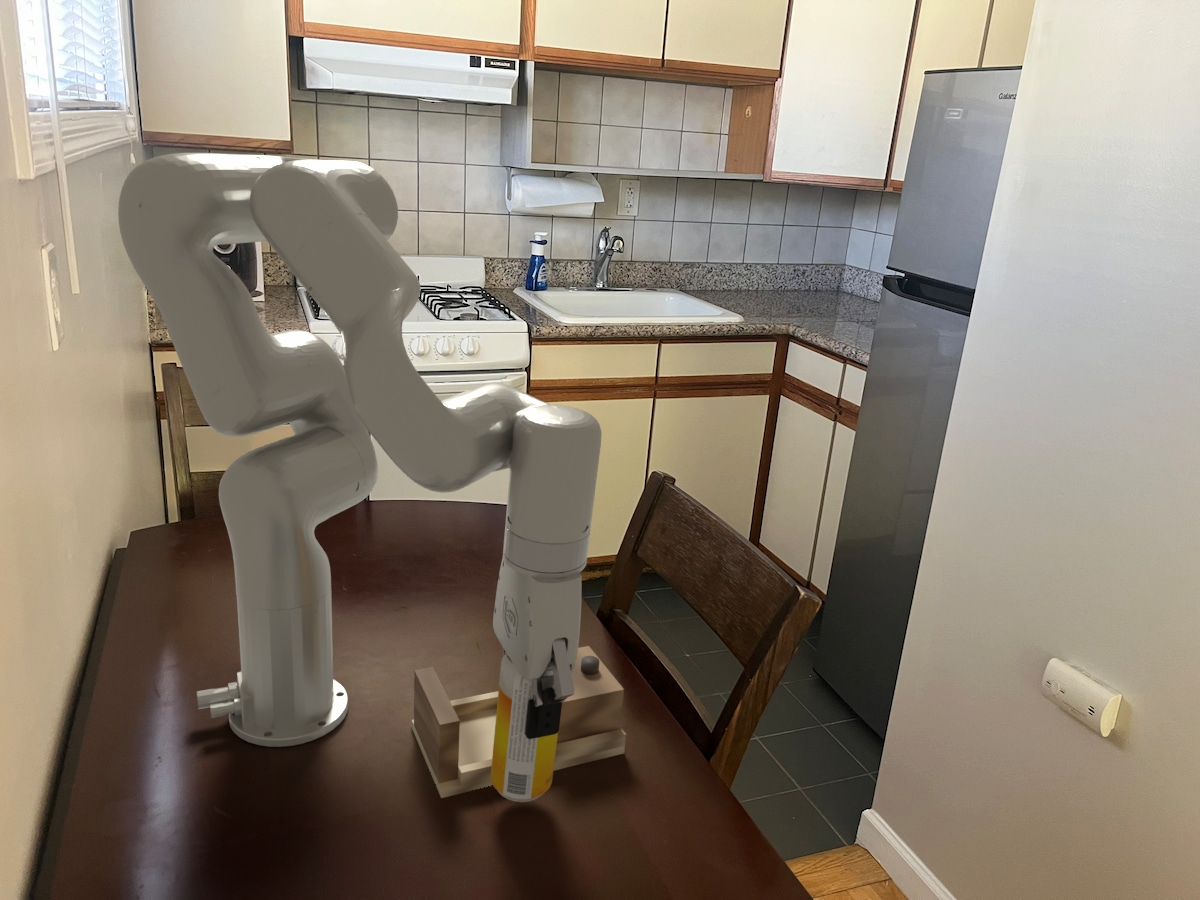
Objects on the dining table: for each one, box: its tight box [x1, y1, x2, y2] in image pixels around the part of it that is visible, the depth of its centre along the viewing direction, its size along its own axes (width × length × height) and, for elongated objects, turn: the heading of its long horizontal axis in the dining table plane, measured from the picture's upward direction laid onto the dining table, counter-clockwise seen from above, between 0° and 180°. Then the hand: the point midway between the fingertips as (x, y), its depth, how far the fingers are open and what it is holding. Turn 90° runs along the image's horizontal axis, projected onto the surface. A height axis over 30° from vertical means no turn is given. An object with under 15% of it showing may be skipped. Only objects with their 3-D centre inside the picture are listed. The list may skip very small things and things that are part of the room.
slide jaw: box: [557, 645, 625, 744], centre depth 100 cm, size 8×9×7 cm
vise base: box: [411, 666, 627, 799], centre depth 97 cm, size 20×12×8 cm, turn 115°
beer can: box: [491, 653, 558, 803], centre depth 86 cm, size 6×6×15 cm
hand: (528, 711), depth 85 cm, fingers closed on beer can, 6 cm apart
